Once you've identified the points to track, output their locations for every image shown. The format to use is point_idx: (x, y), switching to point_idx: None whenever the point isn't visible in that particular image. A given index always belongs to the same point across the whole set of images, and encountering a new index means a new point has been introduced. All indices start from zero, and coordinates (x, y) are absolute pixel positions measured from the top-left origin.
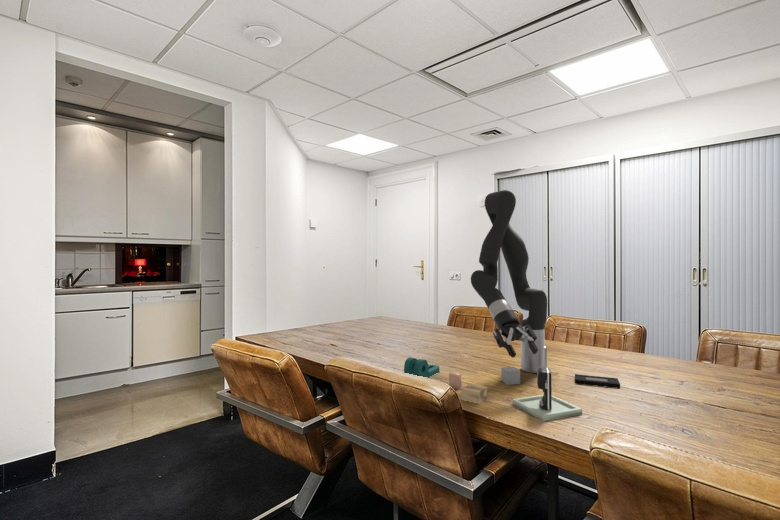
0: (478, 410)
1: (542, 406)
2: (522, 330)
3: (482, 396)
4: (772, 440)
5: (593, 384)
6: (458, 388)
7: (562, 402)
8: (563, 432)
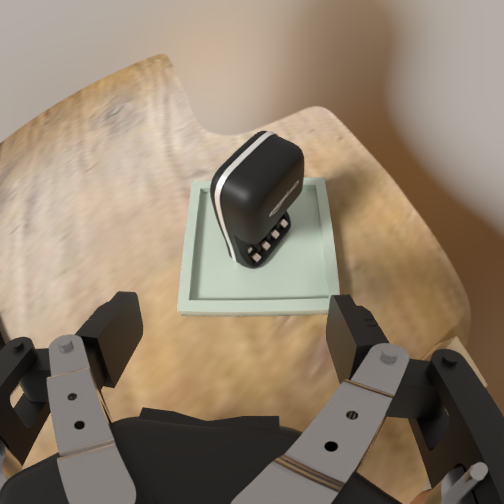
0: (452, 297)
1: (289, 217)
2: (57, 438)
3: (426, 360)
4: (72, 94)
5: (2, 340)
6: (429, 490)
7: (195, 238)
8: (314, 139)
